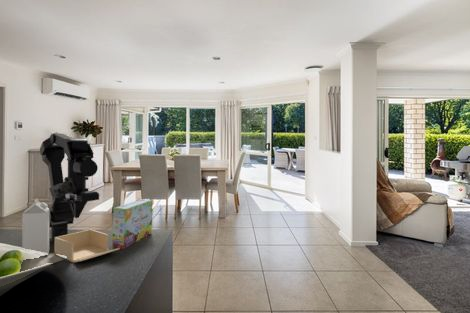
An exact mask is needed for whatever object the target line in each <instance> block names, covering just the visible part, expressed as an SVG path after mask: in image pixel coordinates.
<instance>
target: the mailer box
mask: <svg viewBox="0 0 470 313" xmlns="http://www.w3.org/2000/svg"><path fill="white" fill-rule="evenodd" d="M108 250H109V234H107V233H104V232H102V231H98V230H95V229H91V228H90V229H85V230H80V231H78V232H73V233H68V235H63V236H59V237H55V243H54V255H55V254H60V255H65V256H67V260H66V261H68V262H71V263H73V261H75V260H79V259H82V258H85V257H88V256H92V255H95V254H98V253H102V252H105V251H108Z"/></svg>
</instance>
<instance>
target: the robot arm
mask: <svg viewBox="0 0 470 313" xmlns="http://www.w3.org/2000/svg"><path fill="white" fill-rule="evenodd" d="M39 155H40V156H41V160H42V162H43V163H44V164H46V166H47V167H48V168H47V169H48V176H49V183H50V184H49V185H50V187H49V188H48V190H49V192H50V195H51V198H52V201H51V203H50V205H49V206H48V208H49V228H50V237H49V243H50V242H51V243H53V244H55V237H59V236H63V235H68V234H69V230H68V228H69V226H68V225H71V224H74V219H79V218H80V216H81V214H82V212H83V210H84V208H86V207H85V206H86V205H87V203H88V202H93V201H98V200H100V193H99V192H97V191H96V190H95V191H94V190H89V187H88V188H87V185H86V184H87V181H88V180H89V178H90V177H93V176H95V174H96V173H97V172H98V164H97V162H96V161H95V160H93V159H94V151H93V149H92V147H91V145H90V142H89V140H88V139H86V138H73V137H71V136H68V135H67V134H65V133H55V132H54V133H51V134H50V135H49V137H48V138H46V139H45V140H43V141H42V143H41V145H40V147H39ZM65 156H66V157H65ZM64 158H66V160H67V176H66V177H64V173H63V166H62V162H63V161H64Z"/></svg>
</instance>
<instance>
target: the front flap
mask: <svg viewBox="0 0 470 313" xmlns="http://www.w3.org/2000/svg"><path fill="white" fill-rule="evenodd" d="M119 250H120V248H113V249H108V251H105V252H102V253H98V254H95V255H92V256H88V257H85V258H82V259H79V260H75V261H73V262H72V263H78V262H83V261H86V260H89V259H94V258H96V257H99V256H103V255H106V254H109V253H111V252H115V251H119Z"/></svg>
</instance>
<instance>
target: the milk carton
mask: <svg viewBox="0 0 470 313" xmlns="http://www.w3.org/2000/svg"><path fill="white" fill-rule="evenodd" d="M21 216H22V217H21V220H22V224H21V225H22V226H21V228H22V229H21V230H22V232H21V234H22V235H21V236H22V238H21V240H22V245H21V246H22V247H21V248H25V249H31V250H36V251H41V252H47V253H48V254H49V253H50V241H49V238H50V227H49V204H47V203H46V202H43V201H42V202H40V201H39V199H38V197H37V198H36V199H35V200H34V203H33V204H31V205H30V206H29V207H28V208H26V209H25V210H24V211H23V213H22V215H21Z"/></svg>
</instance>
